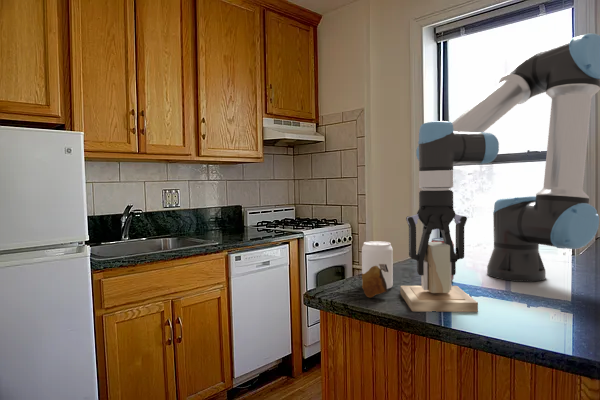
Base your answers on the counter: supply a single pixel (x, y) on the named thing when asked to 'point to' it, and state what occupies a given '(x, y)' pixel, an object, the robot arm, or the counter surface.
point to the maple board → (438, 300)
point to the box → (438, 267)
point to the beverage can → (378, 258)
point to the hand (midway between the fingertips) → (436, 288)
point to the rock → (374, 281)
